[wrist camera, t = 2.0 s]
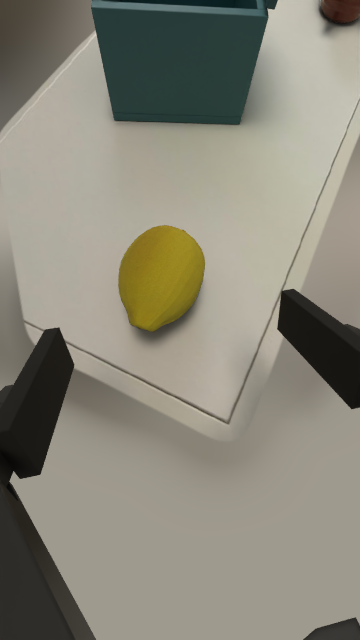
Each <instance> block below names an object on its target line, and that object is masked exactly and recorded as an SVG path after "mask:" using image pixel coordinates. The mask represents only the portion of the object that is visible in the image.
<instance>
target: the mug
mask: <svg viewBox="0 0 360 640" xmlns="http://www.w3.org/2000/svg"><path fill="white" fill-rule="evenodd" d="M321 9H322V12H323V14H324V15H325V16H326V17H327V18H328V19H329V20H331V21H333V22H336V23H350V22H352V21H354V20H356V19H358V18H359V17H360V0H321Z"/></svg>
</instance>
